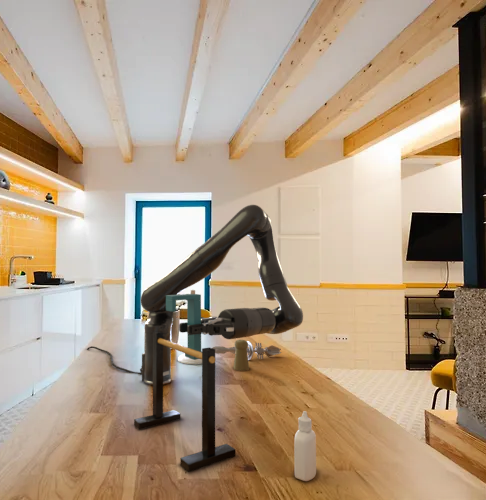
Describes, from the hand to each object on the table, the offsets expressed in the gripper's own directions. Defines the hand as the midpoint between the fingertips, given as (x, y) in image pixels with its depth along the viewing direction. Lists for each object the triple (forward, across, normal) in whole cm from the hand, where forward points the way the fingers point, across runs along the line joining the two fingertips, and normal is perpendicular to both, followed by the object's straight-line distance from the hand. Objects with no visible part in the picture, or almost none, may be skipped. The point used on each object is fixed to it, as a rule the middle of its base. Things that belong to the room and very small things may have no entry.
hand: (184, 329), depth 89 cm
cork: (-51, -38, +26) cm, 69 cm away
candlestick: (-42, -58, +26) cm, 76 cm away
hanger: (-1, 0, +7) cm, 7 cm away
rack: (+1, 0, +25) cm, 25 cm away
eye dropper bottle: (-12, +25, +26) cm, 38 cm away
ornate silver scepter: (-62, -47, +26) cm, 82 cm away
